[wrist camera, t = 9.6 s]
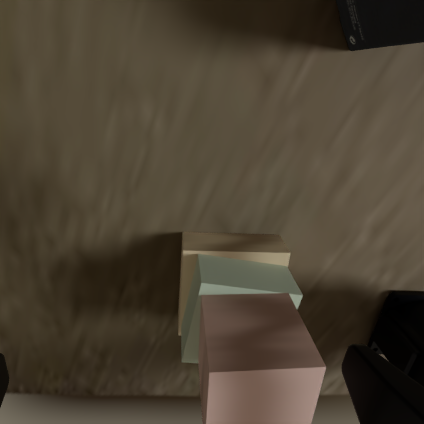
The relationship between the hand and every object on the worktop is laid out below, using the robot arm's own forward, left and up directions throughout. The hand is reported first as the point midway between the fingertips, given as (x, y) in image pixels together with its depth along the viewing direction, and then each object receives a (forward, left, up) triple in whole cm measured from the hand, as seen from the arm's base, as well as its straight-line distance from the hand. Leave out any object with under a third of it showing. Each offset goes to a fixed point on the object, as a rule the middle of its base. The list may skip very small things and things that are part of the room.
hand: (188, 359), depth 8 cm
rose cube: (-4, +7, -8) cm, 11 cm away
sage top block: (-4, +7, -11) cm, 13 cm away
